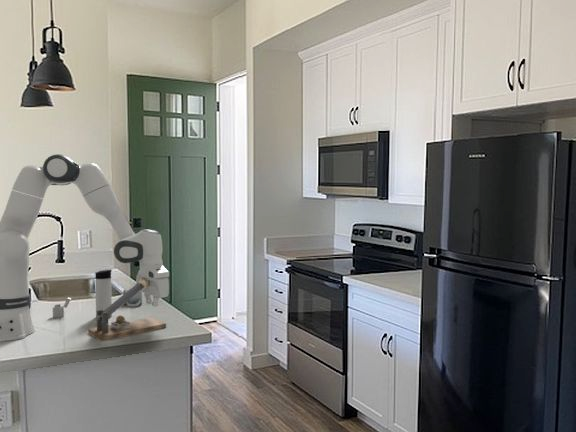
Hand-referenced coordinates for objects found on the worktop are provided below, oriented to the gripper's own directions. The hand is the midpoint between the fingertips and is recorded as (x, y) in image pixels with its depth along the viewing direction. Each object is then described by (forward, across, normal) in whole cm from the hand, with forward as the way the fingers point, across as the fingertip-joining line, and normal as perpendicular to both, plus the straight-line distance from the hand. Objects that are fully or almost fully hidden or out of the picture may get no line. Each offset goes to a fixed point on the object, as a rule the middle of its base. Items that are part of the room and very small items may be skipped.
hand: (152, 304), depth 208 cm
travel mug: (+8, -24, -9) cm, 27 cm away
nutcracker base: (+8, 0, -10) cm, 13 cm away
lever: (-3, 0, -11) cm, 11 cm away
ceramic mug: (+8, -36, +10) cm, 39 cm away
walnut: (+4, 0, -13) cm, 14 cm away
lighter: (+8, -36, -22) cm, 43 cm away
